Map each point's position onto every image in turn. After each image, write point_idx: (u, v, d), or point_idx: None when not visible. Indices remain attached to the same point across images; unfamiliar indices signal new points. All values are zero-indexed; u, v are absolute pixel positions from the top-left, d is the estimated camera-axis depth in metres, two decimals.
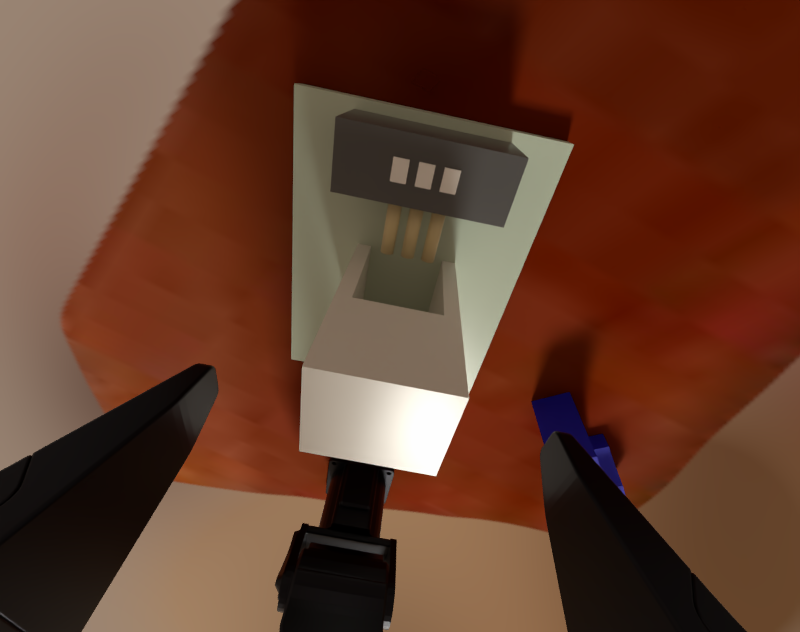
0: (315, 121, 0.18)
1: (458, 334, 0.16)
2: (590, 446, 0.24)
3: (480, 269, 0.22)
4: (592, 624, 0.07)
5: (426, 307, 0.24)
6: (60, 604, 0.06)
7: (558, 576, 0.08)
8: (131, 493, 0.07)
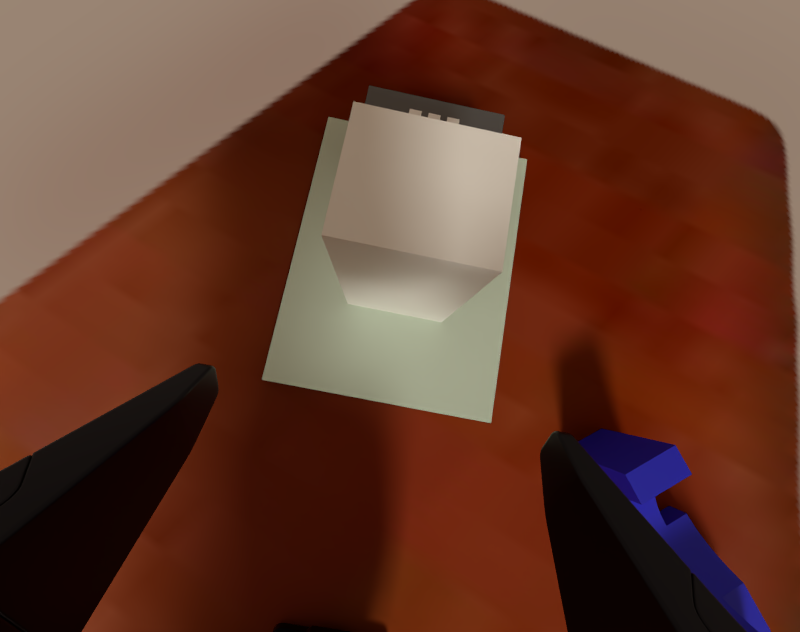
0: (340, 138, 0.24)
1: None
2: (660, 443, 0.18)
3: None
4: (592, 624, 0.07)
5: None
6: (60, 604, 0.06)
7: (558, 576, 0.08)
8: (131, 493, 0.07)
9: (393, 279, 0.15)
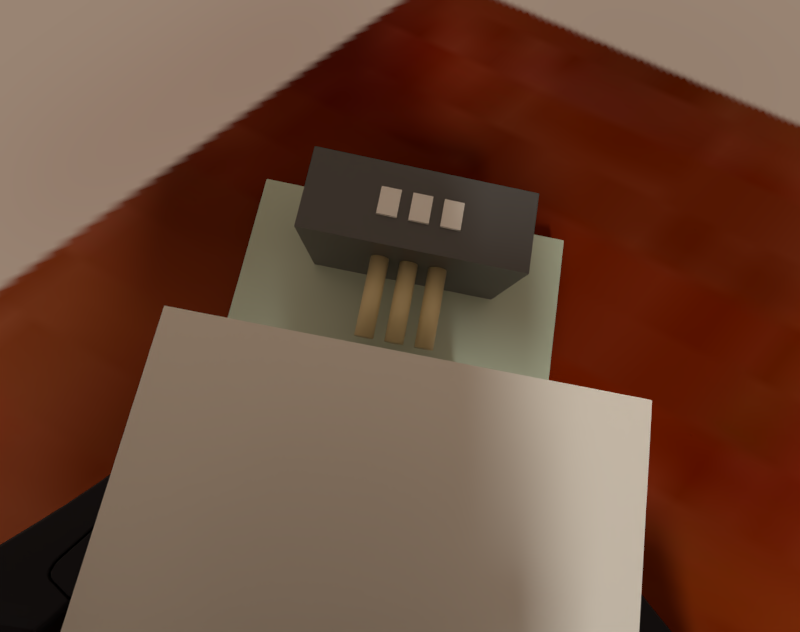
0: (283, 212, 0.16)
1: None
2: None
3: None
4: None
5: None
6: None
7: None
8: None
9: None
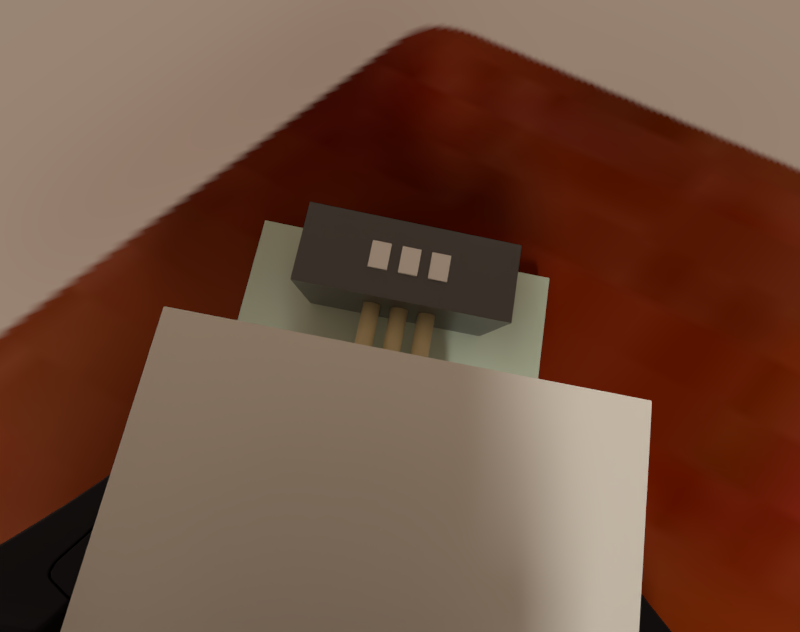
0: (281, 252, 0.17)
1: None
2: None
3: None
4: None
5: None
6: None
7: None
8: None
9: None
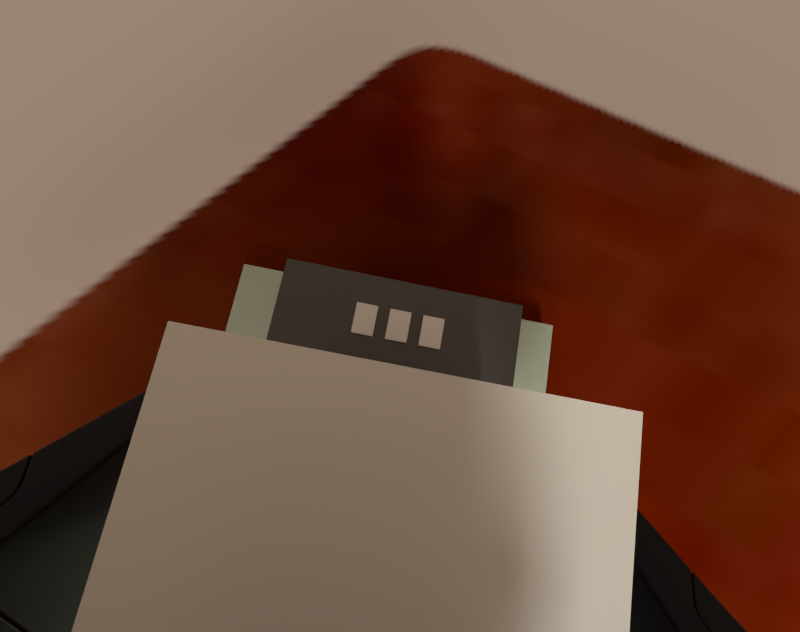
0: (261, 300, 0.15)
1: None
2: None
3: None
4: None
5: None
6: (60, 604, 0.06)
7: None
8: None
9: None
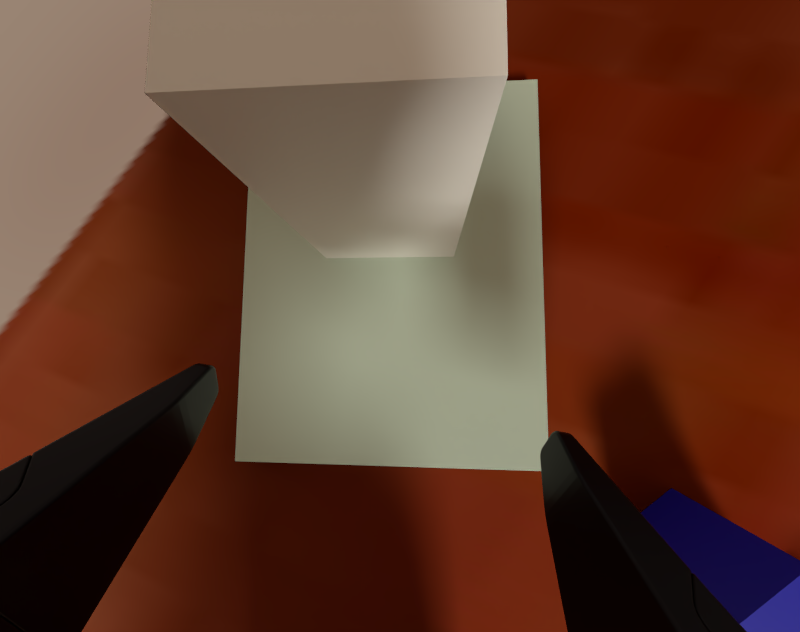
0: None
1: None
2: (778, 553, 0.11)
3: (488, 235, 0.16)
4: (592, 624, 0.07)
5: (432, 309, 0.16)
6: (60, 604, 0.06)
7: (558, 576, 0.08)
8: (131, 493, 0.07)
9: (342, 185, 0.09)
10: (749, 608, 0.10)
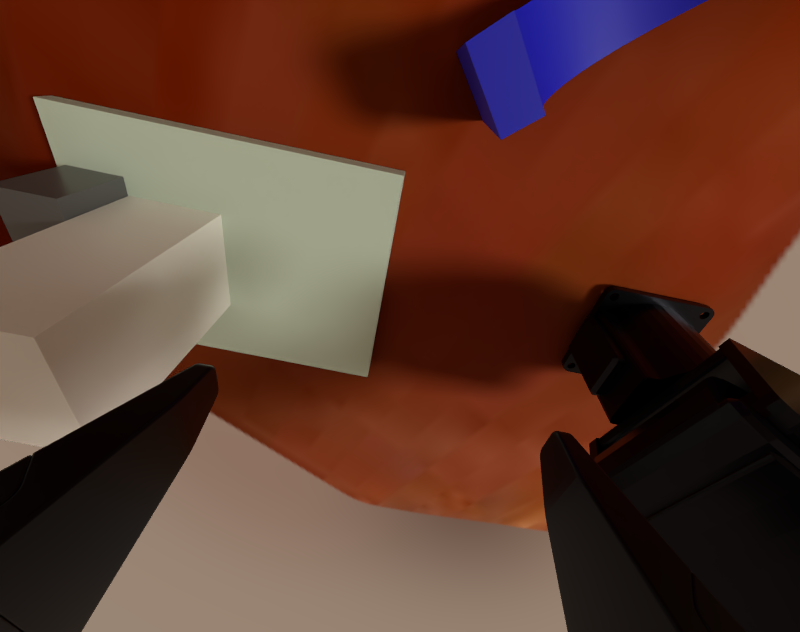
0: None
1: None
2: (464, 48, 0.11)
3: (198, 180, 0.19)
4: (592, 624, 0.07)
5: (266, 240, 0.20)
6: (60, 604, 0.06)
7: (558, 576, 0.08)
8: (131, 493, 0.07)
9: (143, 348, 0.15)
10: (490, 110, 0.12)
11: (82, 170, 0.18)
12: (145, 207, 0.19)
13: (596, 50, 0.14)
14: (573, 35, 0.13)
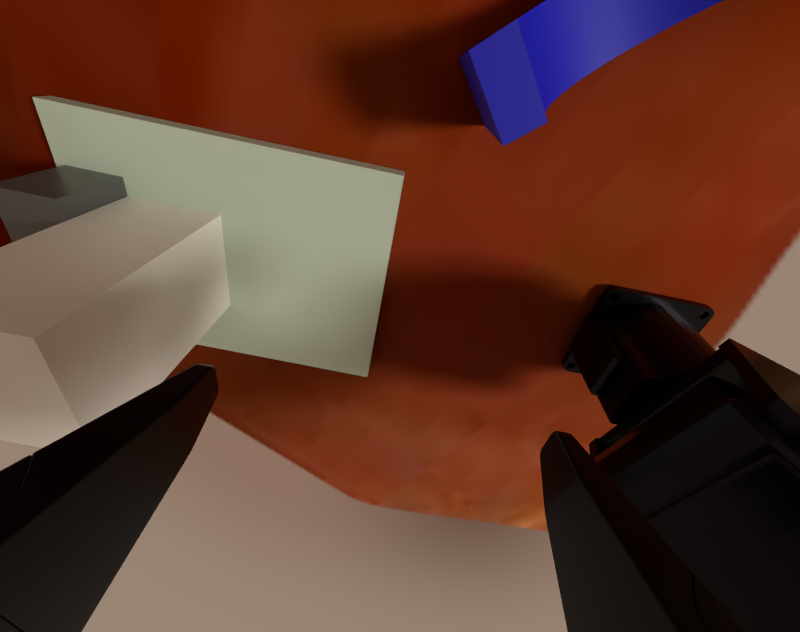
0: None
1: None
2: (467, 56, 0.12)
3: (198, 181, 0.19)
4: (592, 624, 0.07)
5: (266, 240, 0.20)
6: (60, 604, 0.06)
7: (557, 576, 0.08)
8: (131, 493, 0.07)
9: (142, 349, 0.15)
10: (493, 117, 0.12)
11: (81, 170, 0.18)
12: (144, 207, 0.19)
13: (597, 56, 0.14)
14: (575, 42, 0.14)
